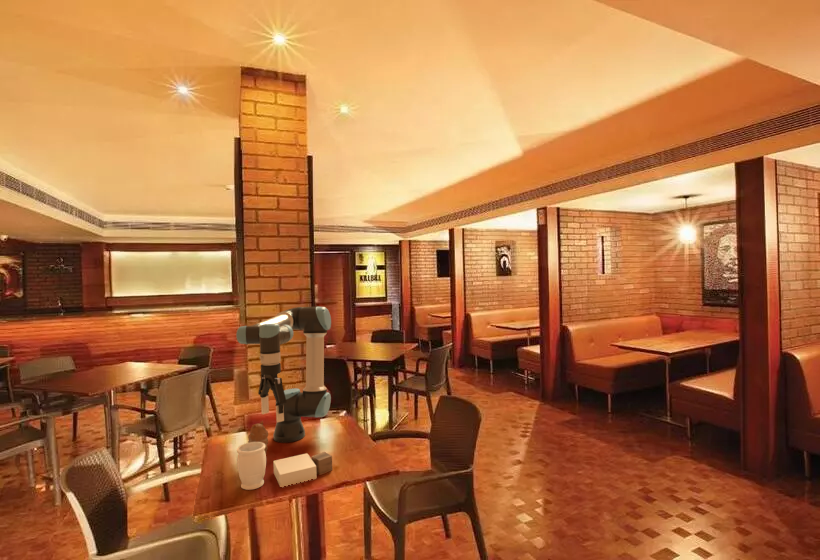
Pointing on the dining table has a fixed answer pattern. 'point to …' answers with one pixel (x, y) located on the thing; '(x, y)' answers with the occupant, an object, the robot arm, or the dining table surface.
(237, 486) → the dining table surface
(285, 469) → the cream block
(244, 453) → the jar
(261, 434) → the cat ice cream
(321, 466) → the walnut cube
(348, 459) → the dining table surface
